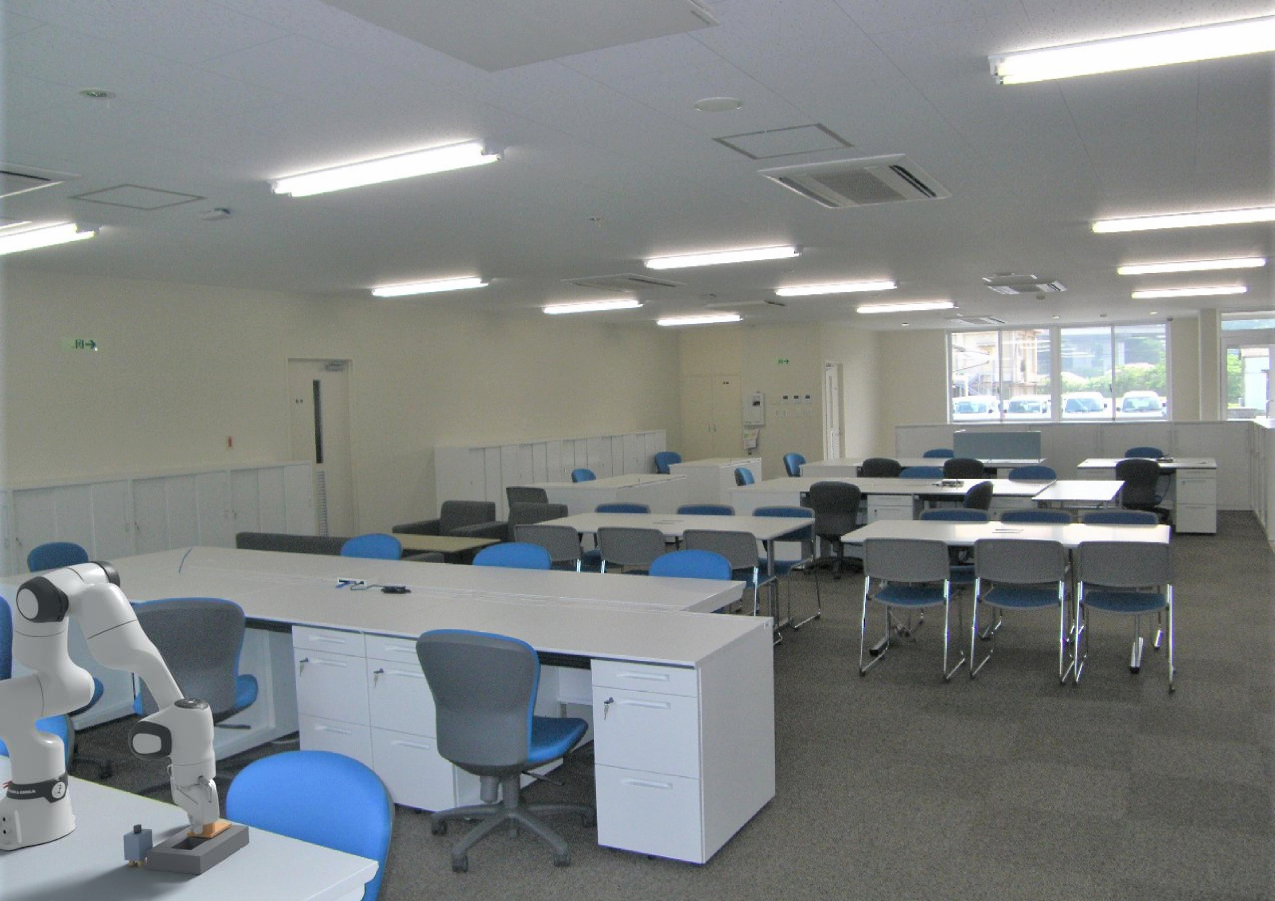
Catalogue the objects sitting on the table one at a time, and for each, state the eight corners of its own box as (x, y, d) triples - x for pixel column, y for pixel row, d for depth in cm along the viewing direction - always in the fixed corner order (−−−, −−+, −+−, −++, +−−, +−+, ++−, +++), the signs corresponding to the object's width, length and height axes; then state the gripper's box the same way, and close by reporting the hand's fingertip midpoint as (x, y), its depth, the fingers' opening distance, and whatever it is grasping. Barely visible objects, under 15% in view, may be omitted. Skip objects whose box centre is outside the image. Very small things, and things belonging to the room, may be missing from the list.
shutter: (186, 835, 216) (186, 822, 216) (208, 823, 223) (207, 810, 223) (211, 837, 214) (210, 824, 214) (232, 825, 221) (231, 811, 221)
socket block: (147, 869, 209) (146, 851, 209) (198, 838, 225) (197, 821, 224) (200, 874, 205) (200, 856, 205) (249, 843, 221) (248, 825, 221)
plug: (124, 866, 211) (123, 828, 210) (138, 858, 215) (136, 821, 214) (139, 868, 210) (137, 830, 209) (153, 860, 213) (151, 822, 213)
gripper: (225, 778, 209) (228, 840, 209) (193, 757, 224) (195, 815, 224) (195, 786, 204) (198, 850, 205) (164, 764, 219) (167, 824, 219)
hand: (196, 832), depth 214 cm, fingers closed
